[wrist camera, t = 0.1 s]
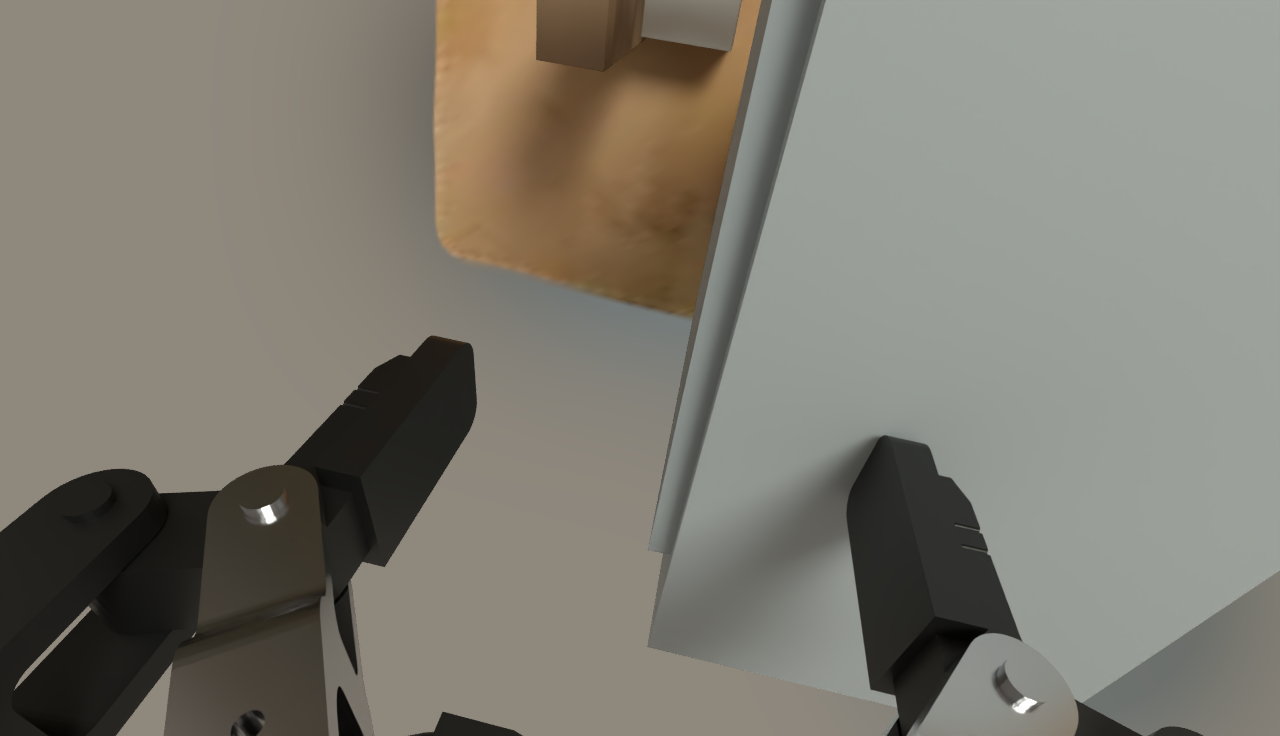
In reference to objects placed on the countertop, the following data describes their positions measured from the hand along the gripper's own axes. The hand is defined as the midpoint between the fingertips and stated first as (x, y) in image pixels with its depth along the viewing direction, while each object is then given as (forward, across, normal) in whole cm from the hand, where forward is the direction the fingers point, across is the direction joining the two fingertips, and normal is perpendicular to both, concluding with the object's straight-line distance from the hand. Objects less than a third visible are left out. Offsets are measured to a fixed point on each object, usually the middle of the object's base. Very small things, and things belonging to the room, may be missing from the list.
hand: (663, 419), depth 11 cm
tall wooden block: (+30, +5, -4) cm, 31 cm away
